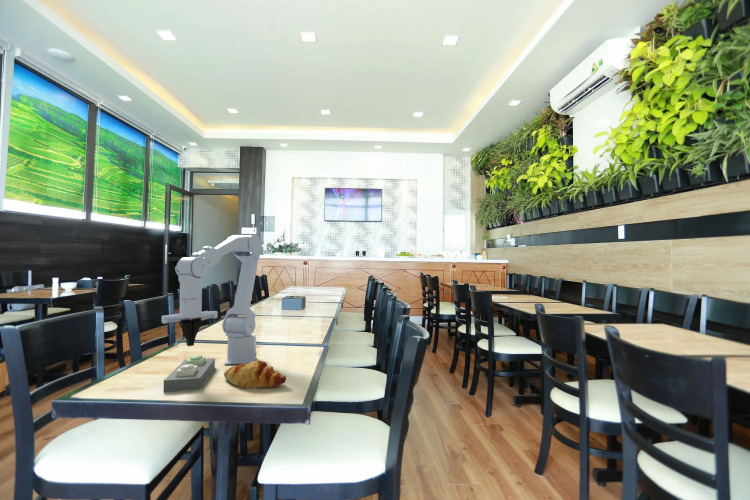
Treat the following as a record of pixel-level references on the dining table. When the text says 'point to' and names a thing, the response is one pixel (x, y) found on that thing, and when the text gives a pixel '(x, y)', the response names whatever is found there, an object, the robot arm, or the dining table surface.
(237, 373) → the croissant
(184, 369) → the button
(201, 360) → the button
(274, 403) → the dining table surface
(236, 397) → the dining table surface
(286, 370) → the dining table surface
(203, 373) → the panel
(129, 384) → the dining table surface
